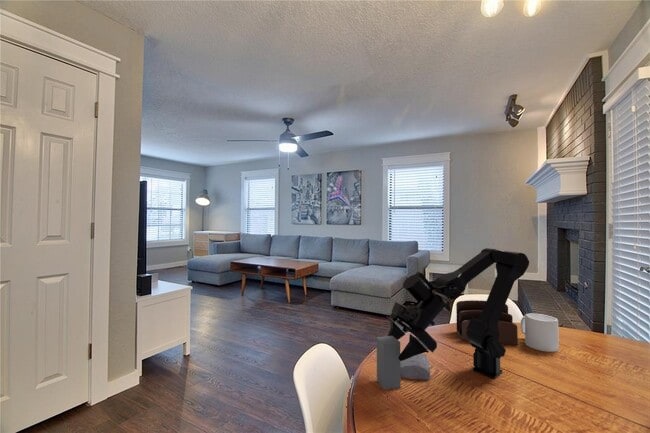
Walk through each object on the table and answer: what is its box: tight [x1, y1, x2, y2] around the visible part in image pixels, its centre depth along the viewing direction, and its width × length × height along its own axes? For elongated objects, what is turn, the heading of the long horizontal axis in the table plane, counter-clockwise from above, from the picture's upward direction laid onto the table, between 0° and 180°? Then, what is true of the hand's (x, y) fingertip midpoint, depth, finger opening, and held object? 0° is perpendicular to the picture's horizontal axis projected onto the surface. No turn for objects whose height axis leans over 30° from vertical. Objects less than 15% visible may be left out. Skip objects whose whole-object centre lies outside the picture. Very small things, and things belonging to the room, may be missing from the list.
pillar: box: [376, 335, 402, 391], centre depth 83 cm, size 5×5×12 cm
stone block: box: [400, 353, 431, 381], centre depth 91 cm, size 12×5×10 cm
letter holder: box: [455, 299, 519, 346], centre depth 117 cm, size 10×20×14 cm, turn 77°
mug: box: [520, 312, 560, 353], centre depth 111 cm, size 14×10×11 cm
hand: (392, 352), depth 83 cm, fingers open, 9 cm apart
